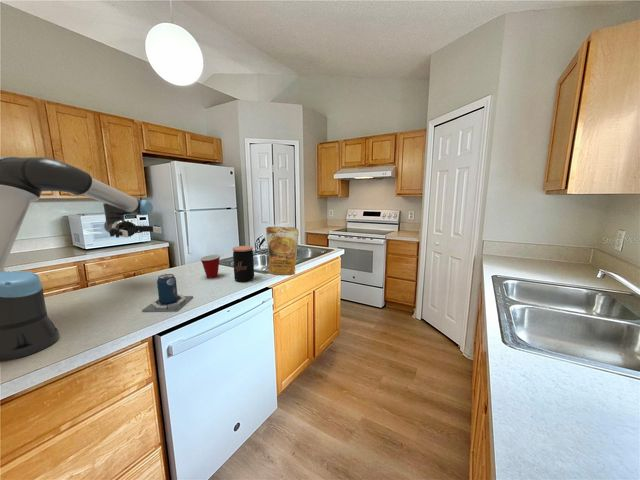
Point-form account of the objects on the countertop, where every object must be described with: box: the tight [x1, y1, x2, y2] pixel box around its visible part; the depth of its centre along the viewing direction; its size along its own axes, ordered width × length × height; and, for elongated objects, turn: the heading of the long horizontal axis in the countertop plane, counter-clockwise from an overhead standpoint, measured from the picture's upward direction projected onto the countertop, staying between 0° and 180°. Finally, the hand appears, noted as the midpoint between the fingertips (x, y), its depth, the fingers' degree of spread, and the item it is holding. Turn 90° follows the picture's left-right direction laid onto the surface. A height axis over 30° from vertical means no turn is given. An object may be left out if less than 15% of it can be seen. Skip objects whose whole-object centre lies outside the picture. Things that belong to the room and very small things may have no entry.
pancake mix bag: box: [265, 226, 299, 276], centre depth 150 cm, size 7×19×28 cm, turn 80°
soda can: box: [156, 273, 179, 305], centre depth 109 cm, size 7×7×12 cm
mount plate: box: [141, 294, 194, 313], centre depth 110 cm, size 14×14×2 cm
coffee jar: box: [232, 245, 255, 283], centre depth 141 cm, size 11×11×18 cm
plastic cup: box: [199, 254, 221, 279], centre depth 146 cm, size 11×11×12 cm
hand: (144, 232), depth 114 cm, fingers open, 13 cm apart
